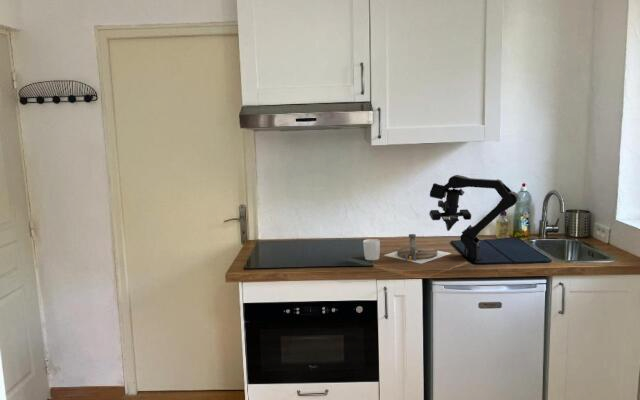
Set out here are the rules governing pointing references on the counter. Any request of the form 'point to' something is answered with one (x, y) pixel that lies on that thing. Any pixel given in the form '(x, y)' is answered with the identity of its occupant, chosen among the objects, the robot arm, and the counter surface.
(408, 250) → the dial
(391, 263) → the counter surface
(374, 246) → the white cup
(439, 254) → the base
